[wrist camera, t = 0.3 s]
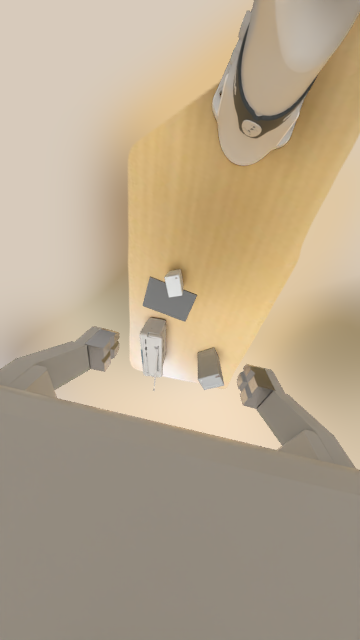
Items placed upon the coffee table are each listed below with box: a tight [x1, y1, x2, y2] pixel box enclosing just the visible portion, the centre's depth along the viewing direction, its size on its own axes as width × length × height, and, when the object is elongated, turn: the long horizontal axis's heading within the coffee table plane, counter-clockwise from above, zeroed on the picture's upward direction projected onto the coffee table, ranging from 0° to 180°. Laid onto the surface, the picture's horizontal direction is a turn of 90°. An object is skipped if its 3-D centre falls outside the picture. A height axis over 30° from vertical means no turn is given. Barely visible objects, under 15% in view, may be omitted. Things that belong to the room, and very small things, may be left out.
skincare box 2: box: [198, 348, 224, 390], centre depth 61 cm, size 8×7×16 cm
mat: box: [143, 277, 197, 321], centre depth 57 cm, size 12×18×1 cm, turn 70°
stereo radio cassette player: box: [140, 318, 166, 390], centre depth 58 cm, size 21×8×20 cm, turn 176°
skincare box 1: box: [164, 269, 184, 297], centre depth 47 cm, size 6×4×12 cm
